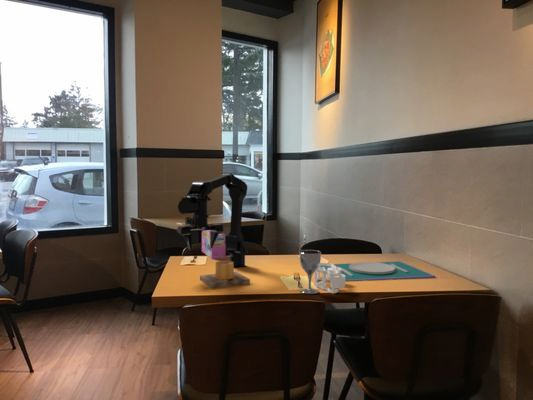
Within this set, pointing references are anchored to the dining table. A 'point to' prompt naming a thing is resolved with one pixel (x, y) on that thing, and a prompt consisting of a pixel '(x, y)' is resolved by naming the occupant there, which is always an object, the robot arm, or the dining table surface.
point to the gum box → (217, 248)
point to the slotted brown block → (219, 283)
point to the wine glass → (310, 266)
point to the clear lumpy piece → (329, 277)
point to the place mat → (380, 271)
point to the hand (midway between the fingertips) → (200, 249)
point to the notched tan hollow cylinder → (224, 270)
